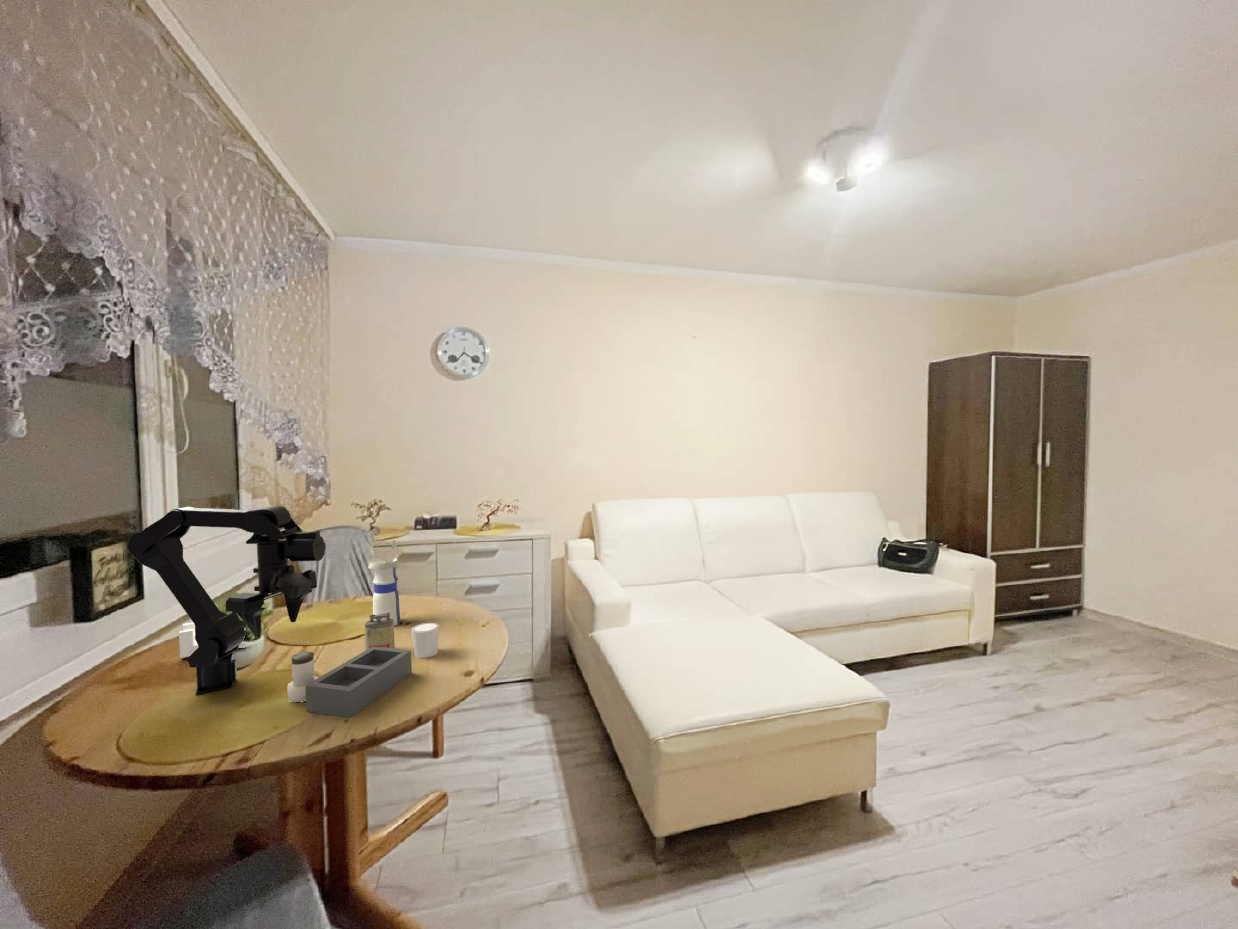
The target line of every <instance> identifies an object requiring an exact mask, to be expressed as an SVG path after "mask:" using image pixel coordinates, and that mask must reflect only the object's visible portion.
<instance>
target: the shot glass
mask: <svg viewBox="0 0 1238 929" xmlns="http://www.w3.org/2000/svg"><path fill="white" fill-rule="evenodd" d="M439 636H440V624H439V623H436V622H423V623H419V624H416V625H415V626H412V627H411V638H412V645H413V653H414V657H415V658H417V657H418V659H426V658H427V657H428V658H430V657H431V658H432V657H433V656H435V655H437V654H438V651H439V638H440V637H439Z"/></svg>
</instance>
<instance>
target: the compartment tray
mask: <svg viewBox="0 0 1238 929" xmlns="http://www.w3.org/2000/svg"><path fill="white" fill-rule="evenodd" d="M412 666H413V665H412V650H411V649H401V648H395V649H393V648H383V647H371V648H369V649H368V650H366V651H362V652H361V653H359V654H356V656H353V657H352V658H351V659H348V660H347V661H345V662H343V663H342V664H339V665H338V666H336V667H334V668H332V669H331V670H329V671H328V672H326V673H324V674H323V675H321V676H320V677H319V676H318V677H319V678H317V679H316V680H314V681H312V682H311V683H309V684H307V685H306V702H305V703H306V705H305V706H306V712H307V711H312V712H311V713H314V712H315V713H314V714H322V715H323V714H324V715H328V716H330V715H331V716H336V717H342V718H343V717H344V718H352V717H353V716H355V715H357V714H358V713H359V712H360V711H362V710H363V709H364V708H366V707H367V706H368V705H370V704H371V703H372V702H374V701H375V700H377V699H378V698H379V697H381V696H382V695H384V694H385V693H386V692H387V691H389V690H390V689H392V688H394V686H396V685H398V683H400V682H401V681H403V680H404V679H406V678H407V677H408V676H410V675H411V674H412V670H413V668H412Z"/></svg>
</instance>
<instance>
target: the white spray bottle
mask: <svg viewBox="0 0 1238 929" xmlns="http://www.w3.org/2000/svg"><path fill="white" fill-rule="evenodd" d="M389 544H390V545H391V550H394V549H395V550H398V546H399V542H396V540H395V539H393V541H392V542H389ZM398 560H399V559H398V558H396V557H394V559H393V560H392V561H391V562H386V561H385V559H384V558H381V557H380V558H376V559H373V560H371V561H370V562H369V565H368V567H367V569H370V570H373V572H374V578H373V580H372V583H373V590H374V591H373V594H372V615H379V614H385V613H387V612H390V618H391V619H393V621H394V627H395V626H397V625H399V624H400V623H401V611H400V595H399V591H398V580H399V577H398V576H397V573H396V569H398V568H399V567H400V566H399V561H398ZM382 619H387V618H382ZM373 620H376V619H373Z"/></svg>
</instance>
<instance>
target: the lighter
mask: <svg viewBox="0 0 1238 929" xmlns="http://www.w3.org/2000/svg"><path fill="white" fill-rule="evenodd" d="M382 618H387V619H382ZM373 619H376V620H373ZM364 646H365V647H364V649H365V651H366V650H368V649H369V648H371V647H383V648H393V649H396V647H395V626H394V621H393V619H391V618H390V612H387V613H385V614H379V615H373V614H370V615H369V620H367V621H366V622H365V623H364Z"/></svg>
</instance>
